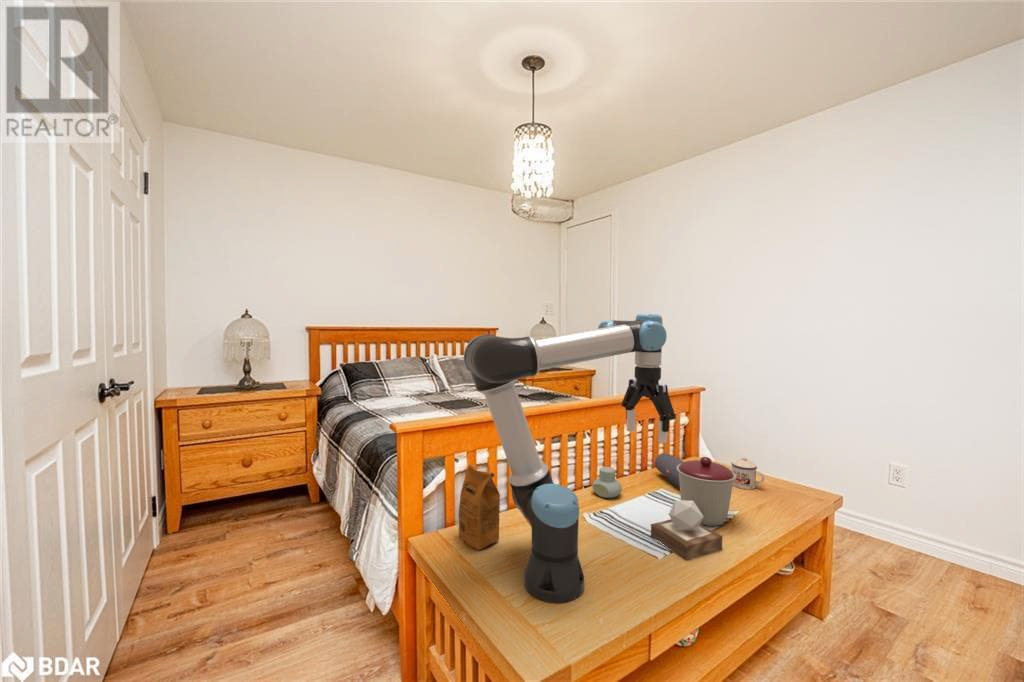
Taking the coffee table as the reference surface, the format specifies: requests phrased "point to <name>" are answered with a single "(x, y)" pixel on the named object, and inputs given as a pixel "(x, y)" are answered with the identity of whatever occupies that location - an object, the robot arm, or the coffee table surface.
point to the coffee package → (479, 509)
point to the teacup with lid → (745, 474)
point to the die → (685, 515)
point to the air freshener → (607, 483)
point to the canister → (707, 488)
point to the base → (686, 539)
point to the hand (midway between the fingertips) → (645, 436)
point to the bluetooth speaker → (668, 467)
